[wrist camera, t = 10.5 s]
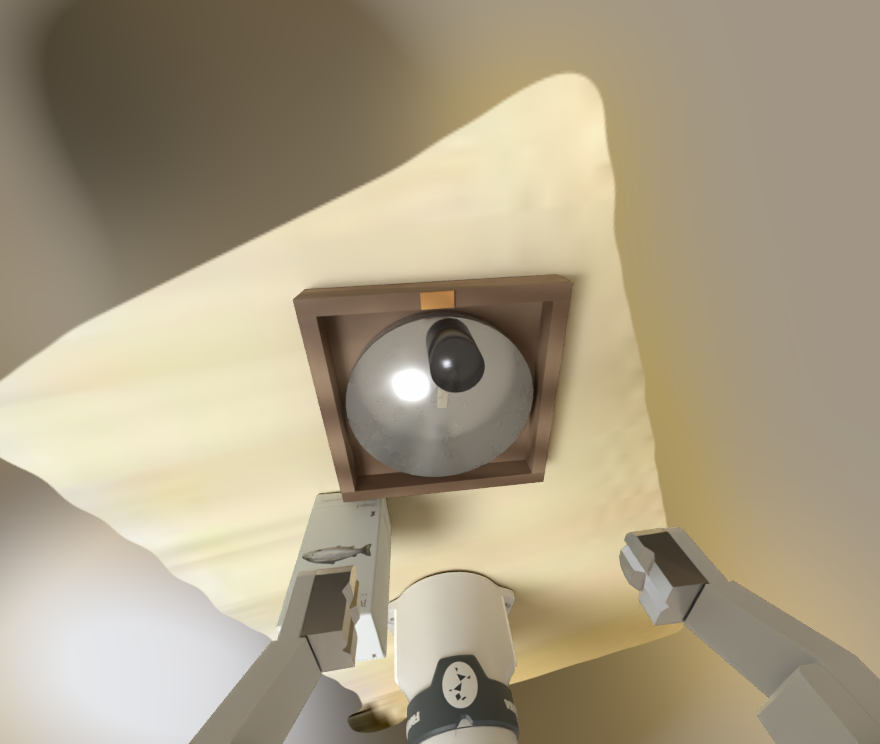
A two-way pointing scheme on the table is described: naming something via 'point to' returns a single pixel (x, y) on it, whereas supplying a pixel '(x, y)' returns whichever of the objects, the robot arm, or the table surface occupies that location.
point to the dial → (439, 394)
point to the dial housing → (375, 307)
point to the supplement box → (352, 560)
